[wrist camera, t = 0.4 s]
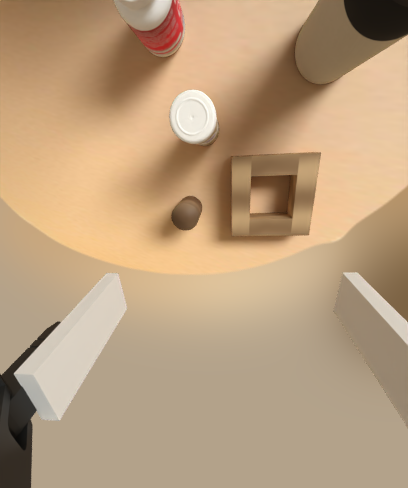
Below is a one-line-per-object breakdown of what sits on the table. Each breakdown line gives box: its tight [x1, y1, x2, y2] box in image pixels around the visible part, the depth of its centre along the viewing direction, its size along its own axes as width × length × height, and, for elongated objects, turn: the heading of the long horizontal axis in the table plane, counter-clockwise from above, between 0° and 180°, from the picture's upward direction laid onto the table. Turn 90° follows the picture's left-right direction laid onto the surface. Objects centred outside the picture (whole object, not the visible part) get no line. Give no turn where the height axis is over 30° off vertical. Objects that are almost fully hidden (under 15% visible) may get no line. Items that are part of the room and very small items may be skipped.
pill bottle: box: [113, 0, 185, 57], centre depth 24 cm, size 6×6×11 cm
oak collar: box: [231, 152, 321, 236], centre depth 34 cm, size 12×12×4 cm
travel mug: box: [295, 0, 408, 84], centre depth 20 cm, size 8×8×18 cm
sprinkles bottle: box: [169, 90, 219, 146], centre depth 27 cm, size 5×5×13 cm
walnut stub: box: [172, 196, 202, 230], centre depth 35 cm, size 4×4×6 cm
